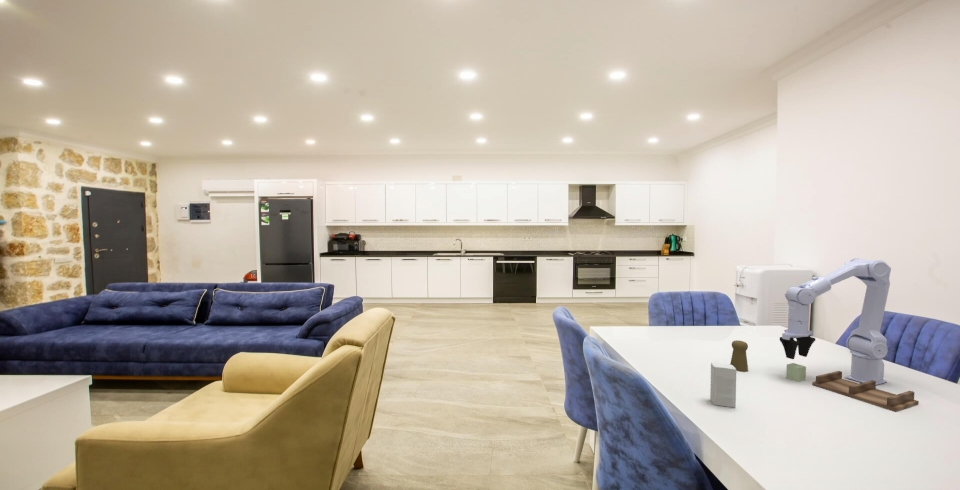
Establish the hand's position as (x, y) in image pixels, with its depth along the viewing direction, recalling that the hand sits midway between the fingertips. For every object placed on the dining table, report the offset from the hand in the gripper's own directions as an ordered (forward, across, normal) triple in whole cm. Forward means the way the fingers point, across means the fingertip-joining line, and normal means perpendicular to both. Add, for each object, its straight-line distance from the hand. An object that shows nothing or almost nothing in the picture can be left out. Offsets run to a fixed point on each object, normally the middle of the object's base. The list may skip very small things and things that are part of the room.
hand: (796, 357), depth 137 cm
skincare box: (+8, +45, +4) cm, 46 cm away
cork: (+8, +10, -14) cm, 19 cm away
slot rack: (+8, -6, +16) cm, 19 cm away
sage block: (+8, 0, 0) cm, 8 cm away
